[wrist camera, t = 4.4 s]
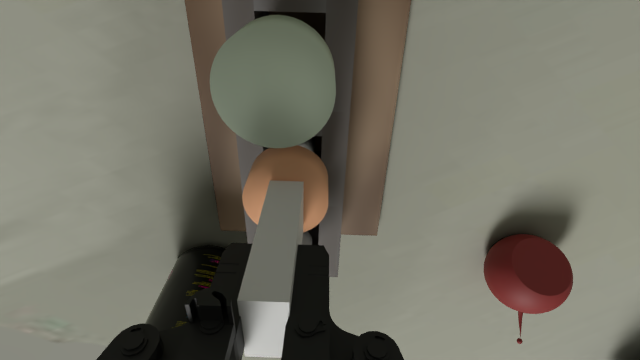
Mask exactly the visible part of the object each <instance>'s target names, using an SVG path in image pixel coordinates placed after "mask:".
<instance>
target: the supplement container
mask: <svg viewBox="0 0 640 360" xmlns="http://www.w3.org/2000/svg"><path fill="white" fill-rule="evenodd" d="M224 250H225V248H222V247H218V246H199V247H195V248H192V249H190V250H188V251H186V252H185V253H183V254H182V255H181V256H180V257H179V258H178V259H177V261H176V263H175V265H174V267H173V269H172V271H171V273H170V275H169V277H168V279H167V281H166V283H165V285H164V287H163V289H162V291H161V293H160V295H159V297H158V299H157V301H156V303H155V305H154V307H153V309H152V311H151V313H150V315H149V317H148V319H147V321H146V323H145V324H151V325H152V326H154V327H156V328H157V330H158V332H159V331H163V330H167V329H171V328H175V327H178V326H181V325H184V324H186V323H188V322H189V319H188V316H187V312H186V308H185V303H186V302H187V300H188V299H189V298H190V297H191V296H192V295H193V294H195V293H196V292H198V291H200V290H203V289H205V288H210V286H211V283H212V281H213V278H214V275H215V274H216V270H217V267H218V265H219V261H220V259H221V256H222V253H223V252H224Z"/></svg>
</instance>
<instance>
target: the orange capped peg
mask: <svg viewBox="0 0 640 360" xmlns="http://www.w3.org/2000/svg"><path fill="white" fill-rule="evenodd" d="M270 180H273V181H301V182H304V200H303V232H306V231H308V230H310V229H312V228H314V227H315V226H316V225H318V224H319V223H320V222H321V221H322V219H323V218H324V216H325V214H326V212H327V209H328V173H327V169H326V167H325V165H324V163H323V162H322V160H321V159H320V158H319V157H318V156H317V155H316V154H315V137H314V136H313V137H312V138H311V139H309V140H307V141H306V142H304V143H301V144H299V145H296V146H292V147H287V148H268V149H266V150H265V151H263V152H262V153H261V154H260V155H259V156H258V157H257V158H256V159H255V161H254V163H253V165H252V167H251V170H250V173H249V175H248V178H247V181H246V184H245V186H244V189H243V195H242V201H243V206H244V208H245V211H246V213H247V214H248V216H249V217H250V218H251V219H252V221H253V222H255V223H256V224H257V225H258V222H259V218H260V215H261V211H262V207H263V204H264V200H265V196H266V193H267V189H268V185H269V182H270Z"/></svg>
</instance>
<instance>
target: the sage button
mask: <svg viewBox="0 0 640 360" xmlns="http://www.w3.org/2000/svg"><path fill="white" fill-rule="evenodd" d="M210 91H211V96H212V100H213V103H214V106H215V108H216V110H217V112H218V114H219V115H220V117H221V118H222V120H223V121H224V122H225V124H226V125H227V126H228V127H229V128H230V129H231V130H232V131H233V132H235V133H236V134H237V135H238V136H240V137H241V138H243V139H245V140H246V141H249V142H251V143H253V144H256V145H259V146H263V147H267V148H287V147H292V146H296V145H299V144H301V143H304V142H306V141H307V140H309V139H311V138H312V137H313V136H315V135H316V134H317V133H318V132H319V131H320V130H321V129H322V128H323V127H324V125H325V124H326V123H327V121H328V119H329V118H330V116H331V113H332V111H333V108H334V104H335V97H336V81H335V68H334V61H333V58H332V54H331V52H330V50H329V47H328V46H327V44H326V42H325V41H324V39H323V38H322V37H321V36H320V34H319V33H318V32H317V31H316V30H315V29H313V28H312V27H311V26H309V25H308V24H306V23H305V22H303V21H301V20H299V19H296V18H294V17H290V16H285V15H269V16H263V17H260V18H257V19H255V20H253V21H251V22H249V23H248V24H246V25H245V26H244V27H242V28H241V29H240V30H239V31H237V32H236V33H235V34H234V35H232V36H231V37H230V38H229V39H228V40H227V41H226V42H225V43H224V44H223V45H222V46H221V48H220V49H219V50H218V52H217V54H216V56H215V58H214V61H213V64H212V67H211V72H210Z"/></svg>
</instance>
